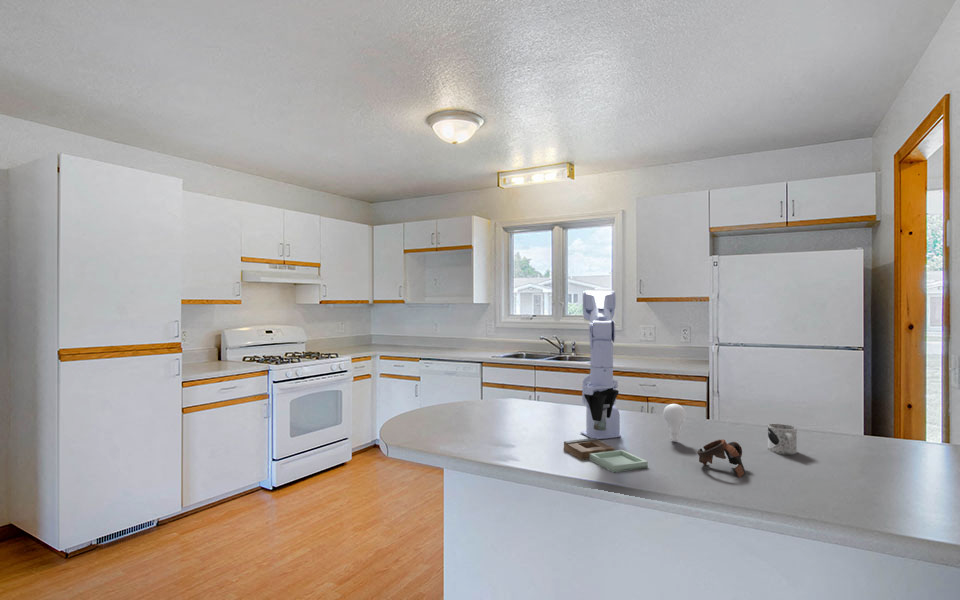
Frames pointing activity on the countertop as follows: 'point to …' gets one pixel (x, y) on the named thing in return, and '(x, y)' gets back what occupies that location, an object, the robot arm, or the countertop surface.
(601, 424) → the pin
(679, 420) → the lightbulb
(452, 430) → the countertop surface
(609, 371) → the robot arm
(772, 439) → the mug
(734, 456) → the brown curved strap
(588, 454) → the block
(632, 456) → the tray
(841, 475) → the countertop surface
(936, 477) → the countertop surface
